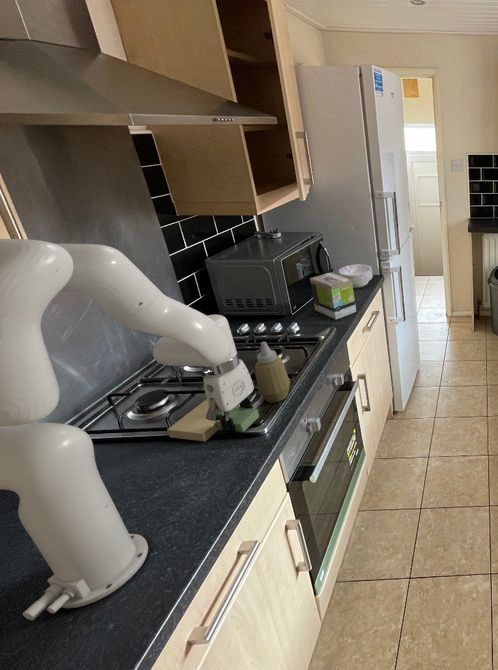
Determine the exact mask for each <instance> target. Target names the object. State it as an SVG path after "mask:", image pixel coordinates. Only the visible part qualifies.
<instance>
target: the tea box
mask: <svg viewBox="0 0 498 670" xmlns="http://www.w3.org/2000/svg"><path fill="white" fill-rule="evenodd" d="M309 282H310V288H311V292H312V293H311V294H312V299H313V305H314V309H315V311H316V312H318V313H321V314H323V315H324V316H327V317H329V318H331V319H334V320H339V319H342V318H344V317H347V316H349V315H352V314H354V313H356V312H357V307H356V300H355V293H354V292H355V291H354V288H353V285H352V279H349V278H346V277H343V276H340V275H338V273H335V272H330V271H329V272H327V273H324V274H323V273H322V274H320V275H317V276H313V277H310V278H309Z"/></svg>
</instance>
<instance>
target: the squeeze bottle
mask: <svg viewBox="0 0 498 670" xmlns="http://www.w3.org/2000/svg"><path fill="white" fill-rule="evenodd" d="M256 359H257V361H256V363H255V365H254V368H255V376H256V377H255V378H256V384H257V391H258V393H259V394H260V396H262V398H263V399H264V400H265V402H267V403H272V404H273V403H278V402H281V401H283V400H284V399H286V398H287V397H288V396H289V392H290V385H291V379H290V378H289V376H288V372H287V370H286V367H285V364H284V362H283V359H282V358H281V357H280V356H278V355H277V352H276V351H275V350H273V349H270V347H269V345H268V344H267V342H266V341H262V342H260V352H259V353H258V354H257V355H256Z"/></svg>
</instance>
